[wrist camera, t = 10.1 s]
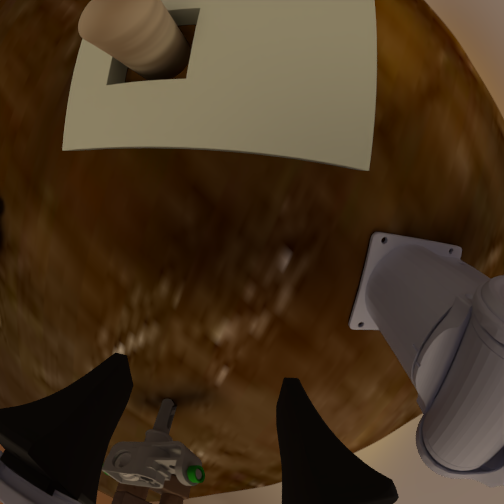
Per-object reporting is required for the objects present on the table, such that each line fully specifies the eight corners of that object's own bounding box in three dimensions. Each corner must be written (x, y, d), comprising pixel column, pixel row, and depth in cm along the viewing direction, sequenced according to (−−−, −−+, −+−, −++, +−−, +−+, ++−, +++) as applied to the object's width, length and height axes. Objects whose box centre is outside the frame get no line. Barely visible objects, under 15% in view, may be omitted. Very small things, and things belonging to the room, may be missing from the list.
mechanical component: (219, 405, 24) (207, 490, 15) (141, 415, 25) (115, 483, 16) (205, 386, 23) (187, 476, 14) (126, 398, 25) (94, 468, 15)
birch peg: (194, 32, 14) (160, -29, 6) (187, 79, 15) (143, 32, 8) (142, 38, 14) (90, -9, 6) (134, 84, 15) (70, 50, 8)
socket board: (362, 6, 13) (373, -8, 10) (354, 169, 17) (368, 170, 15) (114, -1, 12) (101, -13, 10) (81, 150, 17) (62, 150, 14)
